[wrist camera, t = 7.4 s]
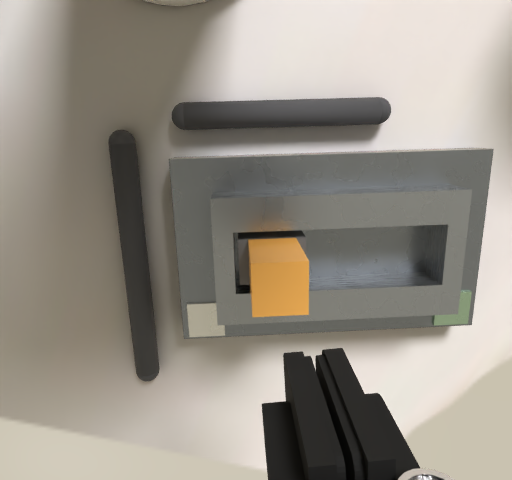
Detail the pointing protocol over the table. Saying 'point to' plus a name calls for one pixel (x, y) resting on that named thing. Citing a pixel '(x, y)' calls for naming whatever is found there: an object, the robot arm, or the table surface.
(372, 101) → the rod
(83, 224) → the table surface
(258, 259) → the breaker lever
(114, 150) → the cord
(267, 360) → the table surface
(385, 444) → the robot arm
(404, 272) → the panel
